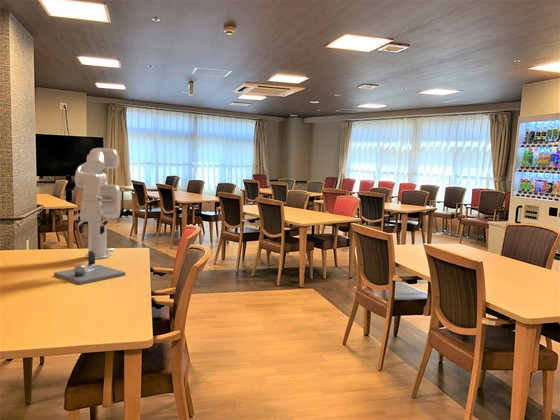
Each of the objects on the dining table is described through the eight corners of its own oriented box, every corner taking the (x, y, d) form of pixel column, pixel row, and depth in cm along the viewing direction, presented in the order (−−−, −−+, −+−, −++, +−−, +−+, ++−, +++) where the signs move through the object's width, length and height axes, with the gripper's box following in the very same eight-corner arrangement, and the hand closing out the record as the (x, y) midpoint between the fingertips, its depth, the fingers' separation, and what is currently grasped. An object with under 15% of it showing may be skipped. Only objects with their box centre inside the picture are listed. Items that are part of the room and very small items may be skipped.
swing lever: (82, 275, 197) (83, 259, 197) (72, 275, 197) (72, 259, 196) (97, 265, 217) (97, 251, 216) (88, 265, 217) (88, 250, 216)
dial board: (98, 267, 222) (98, 264, 222) (125, 275, 209) (125, 271, 209) (54, 275, 203) (54, 271, 203) (80, 284, 190) (80, 280, 190)
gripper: (112, 199, 216) (111, 232, 219) (76, 197, 215) (76, 231, 217) (107, 200, 209) (107, 235, 211) (70, 199, 207) (70, 234, 209)
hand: (91, 233), depth 214 cm, fingers open, 9 cm apart
